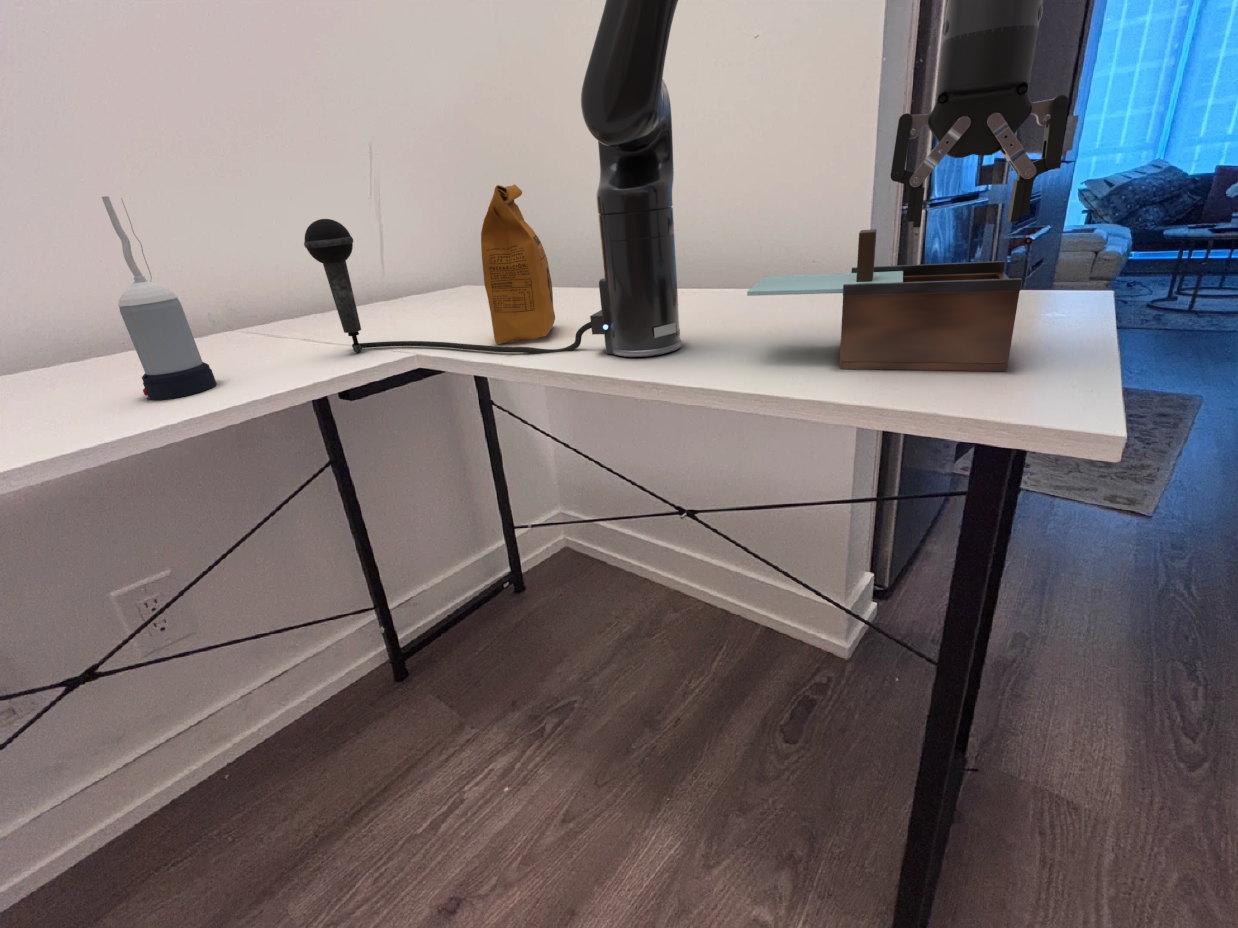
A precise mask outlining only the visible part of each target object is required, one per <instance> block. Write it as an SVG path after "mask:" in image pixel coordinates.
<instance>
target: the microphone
mask: <svg viewBox="0 0 1238 928" xmlns="http://www.w3.org/2000/svg"><path fill="white" fill-rule="evenodd" d="M303 246H304V248H305V249H306V250H307V252H308V253H309V255H310V256H311V257H312V258H313V259H314V260H315V261H317V262H318V263H321V264H322V266H323V269H324V272H325V276H326V278H327V281H328V285H329V289H330V292H331V295H332V298H333V301H334V304H335V307H336V311H337V314H338V317H339V320H340V324H341V327H342V330H343V333H344V334H347V336H348V337H351V338H352V342H353V343H352V344H354V346H353V347H352V351H353V352H355V353H357V354H359V353H361V352H362V351H363V348H362V347H361V346H360V345H359V343H360V342H359V340H358V336H359V335H360V333H359V332H360V331H362V325H361V321H360V317H359V312H358V308H357V303H356V300H355V295H354V291H353V286H352V281H351V278H350V273H349V269H348V265H347V260H348V259H349V258H350V257H351V255H352V252H353V248H354V247H353V246H354V238H353V237H352V236H351V233H350V232H349V229H347V228H346V227H345V226H344V225H343V224H342V223H340V222H339V221H337V220H335V219H331V218H320V219H317V220H315V221H312V222H311V223H310V224H309V226H307V228H306V230H305V233H304V242H303Z"/></svg>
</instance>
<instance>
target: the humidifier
mask: <svg viewBox="0 0 1238 928" xmlns="http://www.w3.org/2000/svg"><path fill="white" fill-rule="evenodd" d="M120 199H121V203H122V205H123V208H124V210H125V213H126V216H127V218H128V221H129V223H130V227H131V231H132V233H133V234H132V235H133V236H134V237H135V238H136V240H137V241H138V243H139V244H140V248H141V252H142V257H143V260H144V262H145V265H146V267H147V270H148V273H149V276H150V280H148V279H147V278H146V277H145V275H143V273H142V271H141V269H140V268H139V267H138V265H137V263H136V261H135V259H134V256H133V252H132V246H131V240H130V238H129V237H128V235H127V234H126V232H125V230H124V229H123V227H122V225H121V222H120V220H119V217H118V215H117V213H116V210H115V208H114V206H113V203H112V202H111V199H110V196H108V195H107V196H101V200H102V202H103V205H104V207H105V209H106V212H107V214H108V217H109V220H110V222H111V225H112V227H113V230H114V231H115V233H116V235H117V236H118V238H119V239H120V241H121V249H122V254H123V258H124V260H125V262H126V264H127V266H128V268H129V270H130V272H131V273H132V275H133V280H134V281H133V282H132V284H131V285H130V286H128V287H127V288H126V289H124V290H123V292H122V293H121V294H120V297H119V299H118V307H119V313H120V315H121V318H122V320H123V322H124V325H125V328H126V330H127V332H128V335H129V337H130V340H131V342H132V344H133V347H134V350H135V352H136V355H137V357H138V359H139V361H140V364H141V366H142V369H143V372H144V374H143V375H142V376H141V379H142V384H143V387H144V388H143V389H142V393H143V395H144V396H145V397H148V399H149V400H151V401H165V400H173V399H178V398H179V399H180V398H183V397H188V396H192V395H197V394H200V393H203V392H205V391H208V390H211V389H213V388H214V387H216V386H217V384H218V383H217V381H216V378H215V374H214V373H213V369H212V368H211V367H210V364H208V363H207V362H205V361H203V359H202V356H201V354H200V351H199V348H198V346H197V343H196V341H195V338H194V335H193V332H192V329H191V327H190V323H189V322H188V318H187V316H186V314H185V311H184V308H183V305H182V302H181V301H180V300H179V297H178V295H176V294H175V292H173V291H172V290H170V289H169V288H167V287H165V286H163V285H161V284H159V283H155V282H152V280H153V277H152V272H151V270H150V267H149V265H148V262H147V260H146V257H145V253H144V249H143V245H142V242H141V241H140V239H139V238H138V236H137V235H136V233H135V231H134V228H133V224H132V222H131V219H130V216H129V212H128V210H127V208H126V206H125V202H124V200H123V197H120Z"/></svg>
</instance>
